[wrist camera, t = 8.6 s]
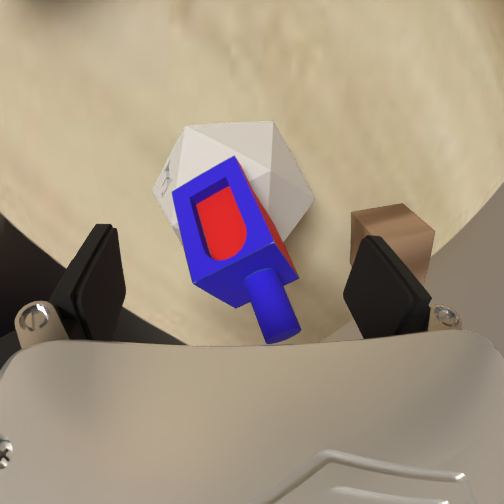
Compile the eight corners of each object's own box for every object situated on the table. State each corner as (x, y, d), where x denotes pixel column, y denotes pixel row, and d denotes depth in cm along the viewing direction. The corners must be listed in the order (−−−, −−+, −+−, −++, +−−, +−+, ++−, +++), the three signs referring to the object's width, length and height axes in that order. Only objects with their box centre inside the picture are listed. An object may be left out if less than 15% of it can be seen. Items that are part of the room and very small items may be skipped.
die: (260, 89, 18) (146, 96, 11) (354, 181, 17) (293, 249, 10) (204, 169, 23) (104, 213, 16) (277, 249, 23) (198, 325, 16)
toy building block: (210, 230, 15) (252, 359, 12) (170, 191, 12) (210, 350, 9) (263, 201, 15) (322, 329, 11) (234, 154, 12) (304, 309, 8)
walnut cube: (350, 211, 23) (379, 243, 19) (401, 202, 23) (435, 231, 19) (349, 262, 26) (372, 298, 21) (396, 251, 26) (424, 283, 21)
